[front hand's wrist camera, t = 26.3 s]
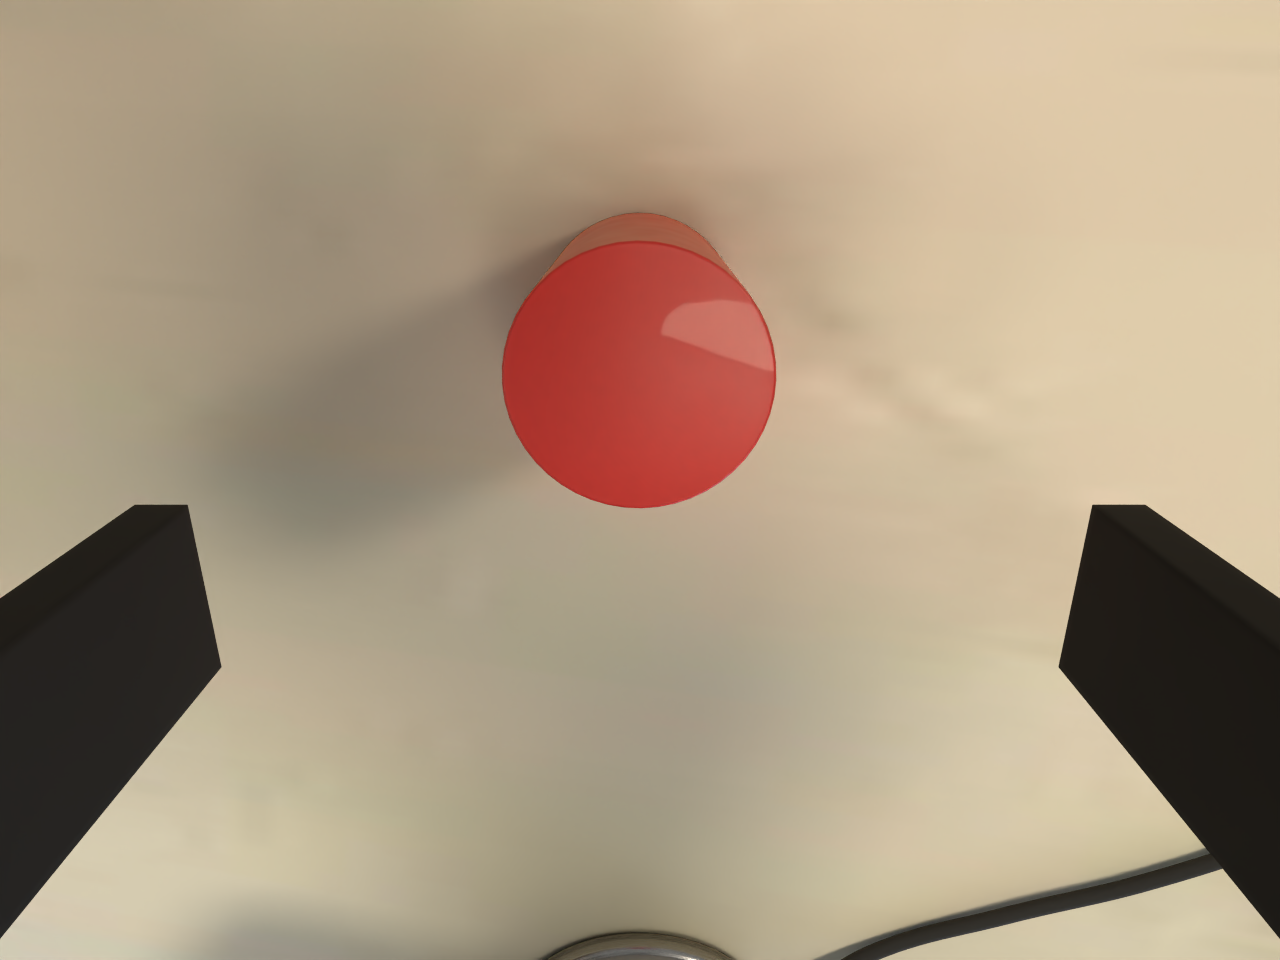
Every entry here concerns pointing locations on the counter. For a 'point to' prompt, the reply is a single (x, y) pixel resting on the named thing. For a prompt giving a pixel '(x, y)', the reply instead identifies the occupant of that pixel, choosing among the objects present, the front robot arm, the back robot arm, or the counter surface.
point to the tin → (639, 365)
